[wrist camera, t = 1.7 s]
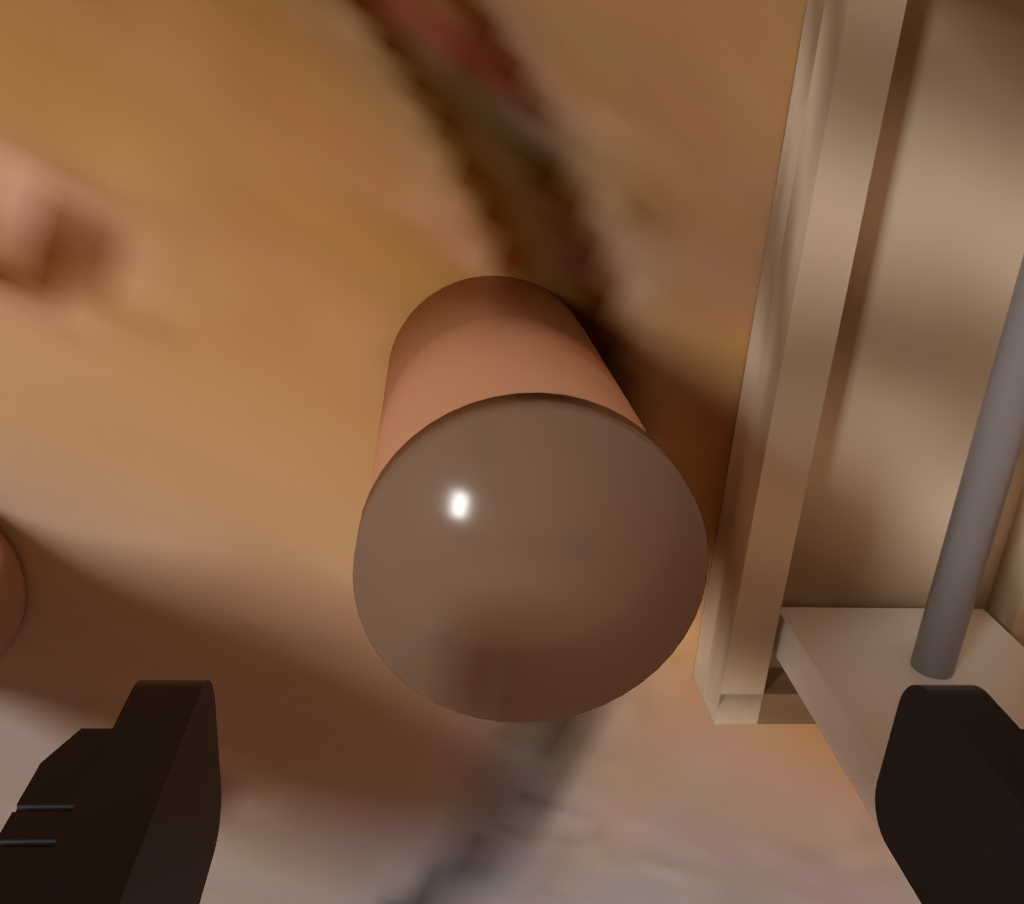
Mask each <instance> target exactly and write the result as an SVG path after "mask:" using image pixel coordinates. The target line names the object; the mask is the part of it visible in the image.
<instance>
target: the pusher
mask: <svg viewBox="0 0 1024 904" xmlns="http://www.w3.org/2000/svg"><path fill="white" fill-rule="evenodd" d="M1023 443H1024V255H1023V258H1022V262H1021V265H1020V269H1019V272H1018V276H1017V280H1016V283H1015V287H1014V290H1013V294H1012V298H1011V301H1010V305H1009V308H1008V312H1007V315H1006V319H1005V323H1004V326H1003V330H1002V333H1001V337H1000V341H999V344H998V348H997V351H996V355H995V359H994V362H993V366H992V369H991V373H990V376H989V380H988V384H987V387H986V391H985V394H984V398H983V402H982V405H981V409H980V412H979V416H978V419H977V423H976V427H975V430H974V434H973V437H972V441H971V445H970V448H969V452H968V455H967V459H966V462H965V466H964V470H963V473H962V477H961V480H960V484H959V488H958V491H957V495H956V498H955V502H954V505H953V509H952V513H951V516H950V520H949V523H948V527H947V531H946V534H945V538H944V541H943V545H942V548H941V552H940V556H939V559H938V563H937V566H936V570H935V574H934V577H933V581H932V584H931V588H930V591H929V595H928V599H927V602H926V606H925V608H829V607H781V611H780V616H779V620H778V625H777V630H776V635H775V640H774V644H773V649H772V651H773V652H774V654H775V656H776V657H777V659H778V661H779V662H780V664H781V666H782V667H783V669H784V671H785V672H786V674H787V676H788V677H789V679H790V681H791V682H792V684H793V686H794V687H795V689H796V691H797V692H798V694H799V696H800V697H801V699H802V701H803V702H804V704H805V706H806V707H807V709H808V711H809V712H810V714H811V716H812V717H813V719H814V721H815V722H816V724H817V726H818V727H819V729H820V731H821V733H822V734H823V736H824V738H825V739H826V741H827V743H828V744H829V746H830V748H831V749H832V751H833V753H834V754H835V756H836V758H837V759H838V761H839V763H840V764H841V766H842V768H843V769H844V771H845V773H846V774H847V776H848V778H849V779H850V781H851V783H852V784H853V786H854V788H855V789H856V791H857V793H858V794H859V796H860V798H861V799H862V801H863V803H864V804H865V806H866V808H867V809H868V811H869V813H870V814H871V816H872V818H873V819H874V821H875V823H876V824H877V826H878V828H879V825H878V821H877V816H876V810H875V790H876V784H877V780H878V777H879V773H880V769H881V766H882V762H883V758H884V755H885V751H886V747H887V744H888V740H889V736H890V733H891V729H892V726H893V722H894V718H895V715H896V711H897V707H898V704H899V701H900V698H901V695H902V694H903V692H904V691H905V690H906V688H908V687H909V686H911V685H975V686H978V687H980V688H982V689H984V690H985V691H986V692H987V693H988V694H989V695H990V696H991V697H992V698H993V699H994V700H995V702H996V703H997V704H998V705H999V706H1000V707H1001V708H1002V709H1003V710H1004V711H1005V712H1006V714H1007V715H1008V716H1009V717H1010V718H1011V719H1012V720H1013V721H1014V722H1015V723H1016V724H1017V726H1018V727H1019V728H1020V729H1024V647H1023V646H1022V645H1021V644H1020V643H1019V642H1018V641H1016V640H1015V639H1014V638H1013V637H1012V636H1011V635H1010V634H1009V633H1008V632H1007V631H1006V630H1005V629H1004V628H1003V627H1002V626H1001V625H1000V624H999V623H998V622H997V621H996V620H995V619H994V618H993V617H991V616H990V615H989V614H988V613H987V612H986V611H985V610H984V609H973V608H974V605H975V602H976V598H977V595H978V592H979V589H980V585H981V582H982V579H983V575H984V572H985V569H986V565H987V562H988V559H989V556H990V552H991V549H992V546H993V542H994V539H995V536H996V532H997V529H998V526H999V523H1000V519H1001V516H1002V513H1003V509H1004V506H1005V503H1006V499H1007V496H1008V493H1009V490H1010V486H1011V483H1012V480H1013V476H1014V473H1015V470H1016V467H1017V463H1018V460H1019V457H1020V453H1021V450H1022V447H1023ZM879 829H880V828H879Z"/></svg>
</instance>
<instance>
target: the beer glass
mask: <svg viewBox="0 0 1024 904" xmlns="http://www.w3.org/2000/svg"><path fill="white" fill-rule="evenodd" d="M25 604H26V585H25V579H24V575H23V571H22V568H21V565H20V562H19V560H18V558H17V556H16V554H15V552H14V550H13V548H12V546H11V545H10V543H9V542H8V540H7V539H6V537H5V536H4V535H3V534H2V532H1V531H0V653H1V652H2V651H3V650H4V649H5V648H6V647H7V646H8V644H9V643H10V642H11V641H12V639H13V638H14V636H15V634H16V633H17V631H18V629H19V626H20V624H21V621H22V618H23V615H24V610H25Z"/></svg>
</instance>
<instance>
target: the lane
mask: <svg viewBox="0 0 1024 904" xmlns="http://www.w3.org/2000/svg"><path fill="white" fill-rule="evenodd" d="M1023 255H1024V0H808V1H807V7H806V13H805V19H804V25H803V31H802V37H801V42H800V48H799V54H798V60H797V66H796V72H795V78H794V84H793V90H792V95H791V101H790V107H789V113H788V119H787V125H786V131H785V137H784V143H783V149H782V154H781V160H780V166H779V172H778V178H777V184H776V190H775V196H774V202H773V207H772V213H771V219H770V225H769V231H768V237H767V243H766V249H765V255H764V260H763V266H762V272H761V278H760V284H759V290H758V296H757V302H756V308H755V314H754V319H753V325H752V331H751V337H750V343H749V349H748V355H747V361H746V367H745V372H744V378H743V384H742V390H741V396H740V402H739V408H738V414H737V420H736V425H735V431H734V437H733V443H732V449H731V455H730V461H729V467H728V473H727V479H726V484H725V490H724V496H723V502H722V508H721V514H720V520H719V526H718V532H717V537H716V543H715V549H714V555H713V561H712V567H711V573H710V579H709V585H708V590H707V596H706V602H705V608H704V614H703V620H702V626H701V632H700V638H699V643H698V649H697V655H696V661H695V667H694V673H693V676H694V678H695V680H696V683H697V685H698V687H699V689H700V692H701V694H702V696H703V698H704V701H705V703H706V705H707V708H708V710H709V712H710V714H711V717H712V719H713V721H714V723H715V724H816V722H815V721H814V719H813V717H812V716H811V714H810V712H809V711H808V709H807V707H806V706H805V704H804V702H803V701H802V699H801V697H800V696H799V694H798V692H797V691H796V689H795V687H794V686H793V684H792V682H791V681H790V679H789V677H788V676H787V674H786V672H785V671H784V669H783V667H782V666H781V664H780V662H779V661H778V659H777V657H776V656H775V654H774V652H773V651H772V649H773V644H774V640H775V635H776V630H777V625H778V620H779V616H780V611H781V607H829V608H925V606H926V602H927V599H928V595H929V591H930V588H931V584H932V581H933V577H934V574H935V570H936V566H937V563H938V559H939V556H940V552H941V548H942V545H943V541H944V538H945V534H946V531H947V527H948V523H949V520H950V516H951V513H952V509H953V505H954V502H955V498H956V495H957V491H958V488H959V484H960V480H961V477H962V473H963V470H964V466H965V462H966V459H967V455H968V452H969V448H970V445H971V441H972V437H973V434H974V430H975V427H976V423H977V419H978V416H979V412H980V409H981V405H982V402H983V398H984V394H985V391H986V387H987V384H988V380H989V376H990V373H991V369H992V366H993V362H994V359H995V355H996V351H997V348H998V344H999V341H1000V337H1001V333H1002V330H1003V326H1004V323H1005V319H1006V315H1007V312H1008V308H1009V305H1010V301H1011V298H1012V294H1013V290H1014V287H1015V283H1016V280H1017V276H1018V272H1019V269H1020V265H1021V262H1022V258H1023ZM973 609H984V610H985V611H986V612H987V613H988V614H989V615H990V616H991V617H993V618H994V619H995V620H996V621H997V622H998V623H999V624H1000V625H1001V626H1002V627H1003V628H1004V629H1005V630H1006V631H1007V632H1008V633H1009V634H1010V635H1011V636H1012V637H1013V638H1014V639H1015V640H1016V641H1018V642H1019V643H1020V644H1021V645H1022V646H1023V647H1024V443H1023V447H1022V450H1021V453H1020V457H1019V460H1018V463H1017V467H1016V470H1015V473H1014V476H1013V480H1012V483H1011V486H1010V490H1009V493H1008V496H1007V499H1006V503H1005V506H1004V509H1003V513H1002V516H1001V519H1000V523H999V526H998V529H997V532H996V536H995V539H994V542H993V546H992V549H991V552H990V556H989V559H988V562H987V565H986V569H985V572H984V575H983V579H982V582H981V585H980V589H979V592H978V595H977V598H976V602H975V605H974V608H973Z"/></svg>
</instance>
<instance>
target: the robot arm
mask: <svg viewBox="0 0 1024 904" xmlns="http://www.w3.org/2000/svg"><path fill="white" fill-rule="evenodd" d="M875 810H876V816H877V821H878V825H879V828H880V832H881V834H882V837H883V839H884V841H885V843H886V845H887V847H888V848H889V850H890V852H891V853H892V855H893V857H894V858H895V860H896V862H897V863H898V865H899V867H900V868H901V870H902V872H903V873H904V875H905V877H906V878H907V880H908V882H909V883H910V885H911V887H912V888H913V890H914V892H915V893H916V895H917V897H918V898H919V900H920V902H921V903H922V904H1024V729H1020V728H1019V727H1018V726H1017V724H1016V723H1015V722H1014V721H1013V720H1012V719H1011V718H1010V717H1009V716H1008V715H1007V714H1006V712H1005V711H1004V710H1003V709H1002V708H1001V707H1000V706H999V705H998V704H997V703H996V702H995V700H994V699H993V698H992V697H991V696H990V695H989V694H988V693H987V692H986V691H985V690H984V689H982V688H980V687H978V686H975V685H911V686H909V687H908V688H906V690H905V691H904V692H903V694H902V695H901V698H900V701H899V704H898V707H897V711H896V715H895V718H894V722H893V726H892V729H891V733H890V736H889V740H888V744H887V747H886V751H885V755H884V758H883V762H882V766H881V769H880V773H879V777H878V780H877V784H876V790H875ZM220 812H221V780H220V766H219V752H218V738H217V724H216V710H215V697H214V690H213V686H212V683H211V682H210V681H209V680H140V681H138V682H137V683H136V684H135V685H134V687H133V689H132V691H131V693H130V695H129V697H128V699H127V701H126V703H125V705H124V707H123V709H122V711H121V713H120V715H119V717H118V719H117V721H116V723H115V725H114V727H113V729H80V730H79V731H78V732H77V733H76V734H74V735H73V736H72V737H71V738H70V739H69V740H67V741H66V742H65V743H64V744H63V745H61V746H60V747H59V748H58V749H57V750H56V751H54V752H53V753H52V754H51V755H50V756H49V757H47V758H46V759H45V760H44V761H43V762H41V764H40V765H39V767H38V769H37V771H36V772H35V774H34V776H33V777H32V779H31V781H30V783H29V784H28V786H27V788H26V790H25V791H24V793H23V795H22V796H21V798H20V800H19V802H18V803H17V810H16V812H12V814H11V815H10V817H9V819H8V821H7V822H6V824H5V826H4V828H3V829H2V831H1V833H0V904H199V903H200V900H201V896H202V893H203V889H204V886H205V882H206V879H207V875H208V872H209V868H210V865H211V861H212V858H213V854H214V850H215V846H216V842H217V836H218V830H219V823H220Z"/></svg>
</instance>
